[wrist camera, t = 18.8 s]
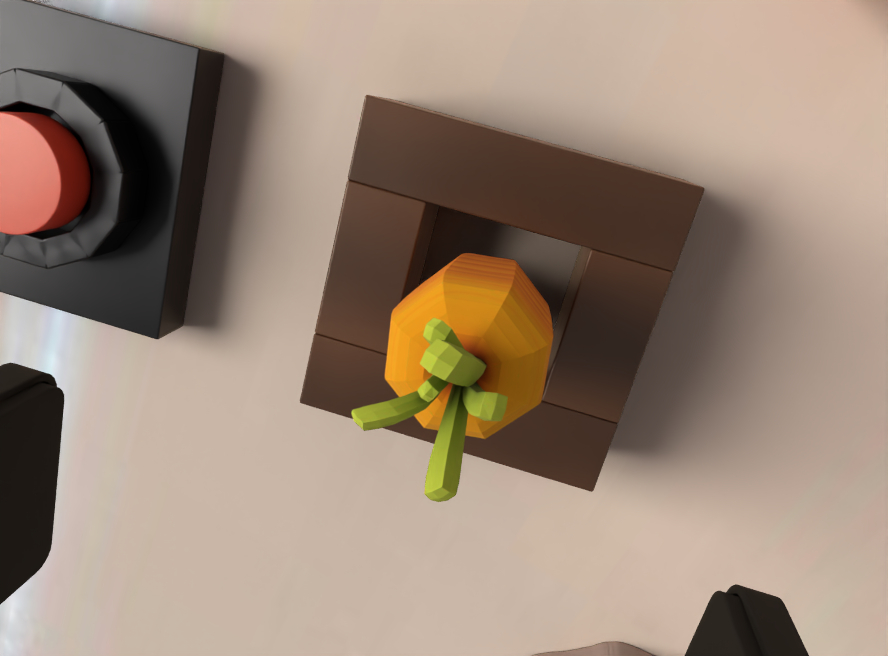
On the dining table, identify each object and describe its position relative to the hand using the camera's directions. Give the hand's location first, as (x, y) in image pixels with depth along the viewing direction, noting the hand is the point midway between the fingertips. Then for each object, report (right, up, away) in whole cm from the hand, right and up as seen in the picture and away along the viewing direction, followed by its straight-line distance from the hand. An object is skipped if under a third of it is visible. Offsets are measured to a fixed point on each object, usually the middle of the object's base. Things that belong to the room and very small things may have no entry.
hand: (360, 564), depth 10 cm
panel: (-14, +10, +21) cm, 27 cm away
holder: (+3, +5, +20) cm, 21 cm away
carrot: (+3, +5, +20) cm, 21 cm away
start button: (-15, +9, +18) cm, 25 cm away
